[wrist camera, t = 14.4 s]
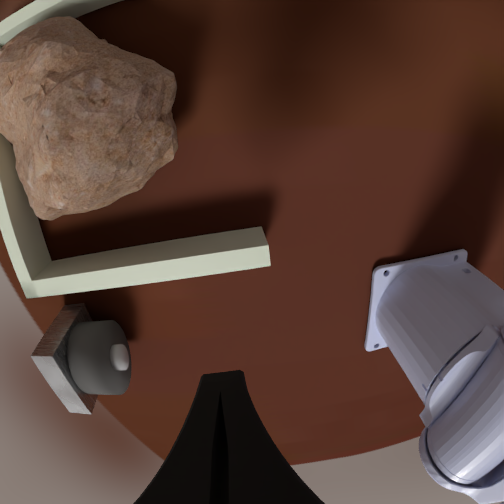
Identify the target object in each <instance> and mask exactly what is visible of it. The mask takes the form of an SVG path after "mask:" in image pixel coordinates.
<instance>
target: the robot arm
mask: <svg viewBox="0 0 504 504" xmlns="http://www.w3.org/2000/svg"><path fill="white" fill-rule="evenodd" d="M467 254H468V253H467V251H466V250H464V249H460V250H456V251H451V252H446V253H442V254H437V255H432V256H427V257H423V258H418V259H413V260H408V261H403V262H398V263H393V264H387V265H382V266H378V267H376V268H375V269H374V271H373V274H372V287H371V297H370V307H369V316H368V324H367V332H366V339H365V349H366V350H367V351H373V350H377V349H380V348H384V347H387V346H388V347H389V348H390V350H391V352H392V353H393V355H394V356H395V358H396V359H397V361H398V362H399V364H400V366H401V367H402V369H403V370H404V372H405V374H406V375H407V377H408V378H409V380H410V382H411V383H412V385H413V387H414V388H415V390H416V391H417V393H418V395H419V396H420V398H421V400H422V401H423V403H424V405H425V408H424V410H423V411H422V412H421V414H420V417H421V419H422V421H423V423H424V425H425V426H426V427H425V428H424V430H423V431H422V433H421V435H420V439H419V452H420V457H421V460H422V463H423V465H424V467H425V469H426V471H427V472H428V474H429V475H430V476H431V477H432V478H433V479H434V480H435V481H436V482H437V483H438V484H440V485H441V486H443V487H444V488H447V489H449V490H453V491H457V492H462V493H465V494H467V495H468V496H470V497H471V498H473V499H474V500H475V501H476V502H478V503H479V504H488V503H495V502H501V501H504V290H503V289H501V288H500V287H499V286H498V285H496V284H495V283H494V282H493V281H491V280H490V279H489V278H488V277H486V276H485V275H484V274H482V273H481V272H480V271H478V270H477V269H476V268H474V267H473V266H472V265H470V264H469V263H468V262H466V260H467ZM454 257H455V258H454ZM386 270H387V272H386V273H385V274H384V272H385V271H386ZM375 344H376V345H375ZM134 504H325V503H324V502H323V501H321V500H320V499H319V498H318V496H317V495H316V494H315V493H314V492H313V491H312V490H311V489H309V487H308V486H307V485H306V484H305V483H304V482H303V481H302V479H301V478H300V477H299V476H298V475H297V473H296V472H295V471H294V470H293V468H292V467H291V466H290V465H289V463H288V462H287V461H286V459H285V458H284V457H283V455H282V454H281V452H280V451H279V450H278V448H277V447H276V445H275V444H274V442H273V440H272V439H271V437H270V435H269V434H268V432H267V431H266V429H265V427H264V425H263V423H262V421H261V420H260V418H259V416H258V414H257V412H256V410H255V408H254V405H253V403H252V401H251V398H250V396H249V393H248V390H247V386H246V381H245V377H244V372H243V371H241V370H236V371H228V372H220V373H211V374H203V375H202V376H201V379H200V383H199V386H198V389H197V392H196V395H195V398H194V401H193V403H192V406H191V408H190V411H189V413H188V415H187V418H186V420H185V422H184V425H183V427H182V429H181V431H180V433H179V435H178V437H177V439H176V441H175V443H174V445H173V447H172V449H171V451H170V453H169V454H168V456H167V458H166V460H165V461H164V463H163V464H162V466H161V468H160V469H159V471H158V472H157V474H156V475H155V477H154V478H153V480H152V481H151V482H150V484H149V485H148V486H147V488H146V489H145V490H144V492H143V493H142V494H141V496H140V497H139V498H138V499H137V500H136V502H134ZM500 504H504V502H502V503H500Z"/></svg>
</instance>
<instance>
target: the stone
mask: <svg viewBox="0 0 504 504" xmlns="http://www.w3.org/2000/svg"><path fill="white" fill-rule="evenodd" d="M176 90H177V83H176V79H175V76H174V73H173V72H171V71H170V70H168V69H166V68H164V67H162V66H161V65H159V64H158V63H156V62H155V61H154V60H151V59H148V58H145V57H142V56H140V55H138V54H135V53H131V52H127V51H125V50H122V49H120V48H118V47H117V46H114V45H111V44H108V43H107V41H106V40H105V39H98V38H97V36H96V35H95V34H94V33H93V32H91V31H90V30H89V29H87V28H86V27H85V26H84V25H83V24H82V23H81V22H80V21H78V20H76V19H75V18H73V17H71V16H66V17H60V16H58V17H53V18H48V19H46V20H44V21H41V22H39V23H37V24H34V25H32V26H29V27H28V28H26V29H24V30H22V31H21V32H20V33H18V34H17V35H16V36H14V37H13V38H12V39H11V40H9V41H8V42H7V43H6V44H5V45H4V46H3V47H2V48H1V49H0V133H1V134H2V135H3V136H5V138H6V139H7V140H8V141H9V142H10V144H11V145H12V146H13V147H12V148H13V149H14V153H15V157H16V167H15V168H16V170H17V173H18V176H19V179H20V181H21V183H22V184H23V187H24V190H25V192H26V194H27V196H28V200H29V204H30V207H32V208H33V210H34V213H35V215H36V216H37V217H39V218H41V219H42V220H48V221H49V220H54V219H56V218H58V217H60V216H62V215H66V214H75V213H84V212H88V211H91V210H96V209H99V208H102V207H105V206H107V205H109V204H111V203H113V202H115V201H116V200H117V199H119V198H121V197H123V196H125V195H127V194H130V193H133V192H136V191H138V190H140V189H141V188H143V186H144V185H145V183H146V182H147V181H148V180H149V179H150V178H151V177H152V176H153V175H154V173H155V171H156V170H157V169H159V168H161V167H162V166H164V165H165V164H167V163H168V162H170V161H171V160H173V158H174V155H175V152H176V151H177V149H178V142H177V131H176V125H175V122H174V120H173V118H172V116H173V114H172V112H171V110H172V106H173V103H174V100H175V95H176Z"/></svg>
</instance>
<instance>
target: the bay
mask: <svg viewBox="0 0 504 504" xmlns="http://www.w3.org/2000/svg"><path fill="white" fill-rule="evenodd" d="M120 1H123V0H35V1H34V2H32V3H30V4H29V5H27V6H25V7H23V8H22V9H20V10H19V11H17V12H15V13H14V14H12V15H11V16H9V17H8V18H6V19H5V20H3V21H2V22H0V49H1V48H2V47H3V46H4V45H5V44H6V43H7V42H8V41H9V40H11V39H12V38H13V37H14V36H16V35H17V34H18V33H20V32H21V31H22V30H24V29H26V28H28V27H29V26H32V25H34V24H37V23H39V22H41V21H44V20H46V19H48V18H53V17H58V16H60V17H66V16H71V17H73V18H77V17H79V16H82V15H84V14H86V13H89V12H91V11H94V10H97V9H99V8H102V7H105V6H108V5H111V4H114V3H117V2H120ZM12 147H13V146H12V145H11V144H10V142H9V141H8V140H7V139H6V138H5V136H3V135H2V134H1V133H0V229H1V232H2V235H3V238H4V241H5V244H6V247H7V250H8V253H9V256H10V259H11V261H12V264H13V267H14V269H15V272H16V274H17V277H18V279H19V281H20V284H21V286H22V289H23V291H24V293H25V295H26V298H36V297H44V296H53V295H61V294H69V293H77V292H85V291H93V290H101V289H109V288H117V287H125V286H132V285H140V284H147V283H155V282H162V281H169V280H176V279H184V278H191V277H198V276H205V275H212V274H219V273H226V272H232V271H239V270H246V269H253V268H259V267H266V266H271V265H270V255H269V246H268V243H267V240H266V237H265V234H264V232H263V229H262V226H261V227H254V228H247V229H240V230H233V231H227V232H220V233H214V234H207V235H201V236H194V237H188V238H181V239H175V240H169V241H163V242H157V243H151V244H145V245H139V246H133V247H127V248H121V249H115V250H110V251H104V252H98V253H93V254H87V255H82V256H76V257H71V258H65V259H60V260H55V261H52V260H51V257H50V255H49V252H48V249H47V246H46V243H45V240H44V237H43V233H42V230H41V227H40V224H39V220H38V217H37V216H36V215H35V213H34V210H33V208H32V207H30V204H29V200H28V196H27V194H26V192H25V190H24V187H23V184H22V183H21V181H20V179H19V176H18V173H17V170H16V168H15V167H16V157H15V153H14V149H13V148H12Z"/></svg>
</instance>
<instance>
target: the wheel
mask: <svg viewBox="0 0 504 504" xmlns="http://www.w3.org/2000/svg"><path fill="white" fill-rule="evenodd" d="M67 356H68V364H69V368H70V372H71V375H72V377H73V379H74V381H75V383H76V384H77V386H78V387H79V388H80V389H81V390H82V391H83V392H85V393H87V394H105V395H121V394H123V393H124V392H125V391H126V390H127V388H128V386H129V383H130V378H131V356H130V350H129V345H128V342H127V339H126V336H125V334H124V332H123V330H122V328H121V327H120V325H119V324H118V323H117V322H115V321H113V320H106V321H94V322H81V323H78V324H77V325H76V326H75V327H74V328H73V329H72V331H71V334H70V336H69V340H68V348H67Z"/></svg>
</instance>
